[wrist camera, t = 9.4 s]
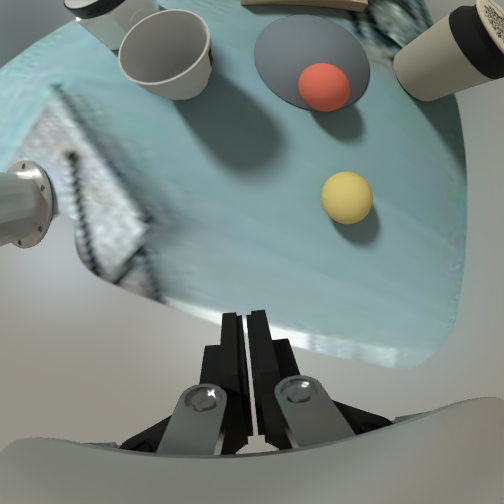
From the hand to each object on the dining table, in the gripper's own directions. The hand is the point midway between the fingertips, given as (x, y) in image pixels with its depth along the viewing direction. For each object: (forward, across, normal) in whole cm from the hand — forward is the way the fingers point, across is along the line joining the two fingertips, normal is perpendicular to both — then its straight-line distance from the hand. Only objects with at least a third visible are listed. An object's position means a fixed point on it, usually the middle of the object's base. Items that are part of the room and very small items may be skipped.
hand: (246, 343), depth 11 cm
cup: (+22, +5, -19) cm, 29 cm away
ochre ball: (+18, -12, -4) cm, 22 cm away
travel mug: (+20, -25, -21) cm, 38 cm away
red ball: (+18, -10, -16) cm, 26 cm away
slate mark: (+21, -10, -21) cm, 31 cm away
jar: (+22, +12, -30) cm, 39 cm away
